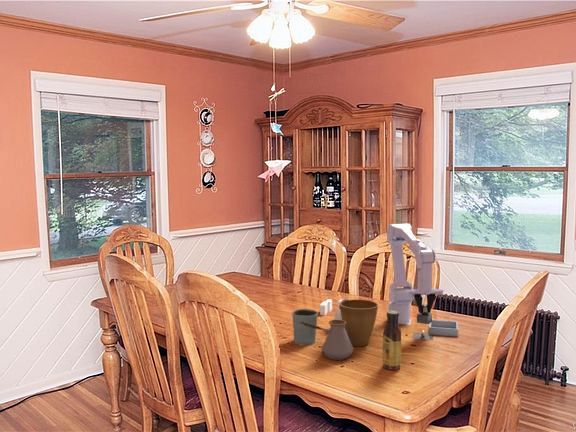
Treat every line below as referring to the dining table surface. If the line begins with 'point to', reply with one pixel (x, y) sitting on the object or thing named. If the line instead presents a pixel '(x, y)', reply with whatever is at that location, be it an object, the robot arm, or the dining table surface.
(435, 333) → the bin
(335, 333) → the coffee pot
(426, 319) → the knob
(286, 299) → the dining table surface
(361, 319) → the plant pot
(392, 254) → the robot arm
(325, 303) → the napkin holder
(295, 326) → the grey cup
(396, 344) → the sauce bottle
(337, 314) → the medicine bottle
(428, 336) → the stud plate
